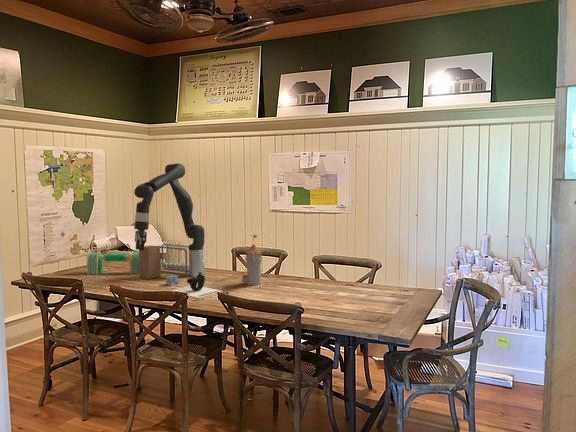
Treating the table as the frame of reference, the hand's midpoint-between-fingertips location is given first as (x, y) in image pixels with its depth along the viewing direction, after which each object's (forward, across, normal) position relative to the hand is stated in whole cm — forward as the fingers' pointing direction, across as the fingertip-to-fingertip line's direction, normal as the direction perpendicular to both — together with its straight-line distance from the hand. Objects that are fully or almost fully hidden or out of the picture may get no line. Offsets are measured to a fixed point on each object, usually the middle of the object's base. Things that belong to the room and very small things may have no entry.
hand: (139, 249), depth 264 cm
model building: (+17, -16, -65) cm, 69 cm away
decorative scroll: (+20, +62, -3) cm, 65 cm away
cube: (+21, +9, -24) cm, 33 cm away
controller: (+22, -14, -30) cm, 39 cm away
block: (+19, +36, -18) cm, 45 cm away
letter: (+22, -14, -30) cm, 39 cm away
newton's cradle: (+16, +44, -37) cm, 60 cm away
